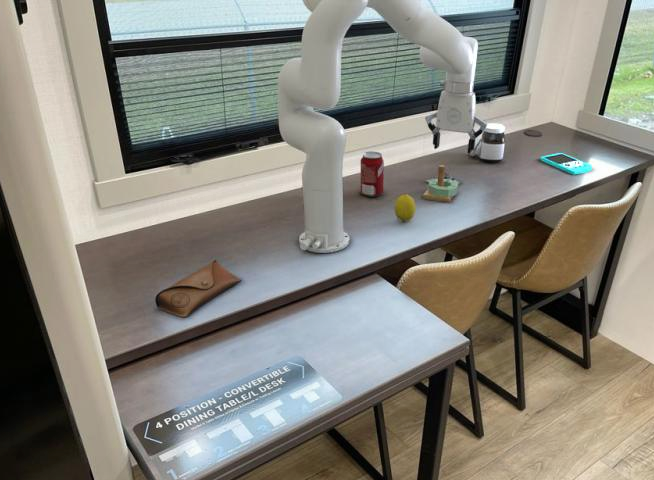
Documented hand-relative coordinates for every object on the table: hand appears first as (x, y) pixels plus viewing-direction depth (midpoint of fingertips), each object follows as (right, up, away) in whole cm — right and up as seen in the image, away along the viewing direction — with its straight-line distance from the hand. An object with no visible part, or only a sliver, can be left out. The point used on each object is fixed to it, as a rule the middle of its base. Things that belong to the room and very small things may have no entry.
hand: (453, 149), depth 170 cm
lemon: (-14, -21, -7) cm, 27 cm away
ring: (-2, -10, +8) cm, 13 cm away
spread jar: (+15, +6, +37) cm, 41 cm away
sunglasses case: (-59, -41, -40) cm, 82 cm away
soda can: (-23, -11, +9) cm, 27 cm away
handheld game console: (+42, +3, +34) cm, 54 cm away
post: (-3, -11, +9) cm, 15 cm away
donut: (-1, -5, +17) cm, 18 cm away
